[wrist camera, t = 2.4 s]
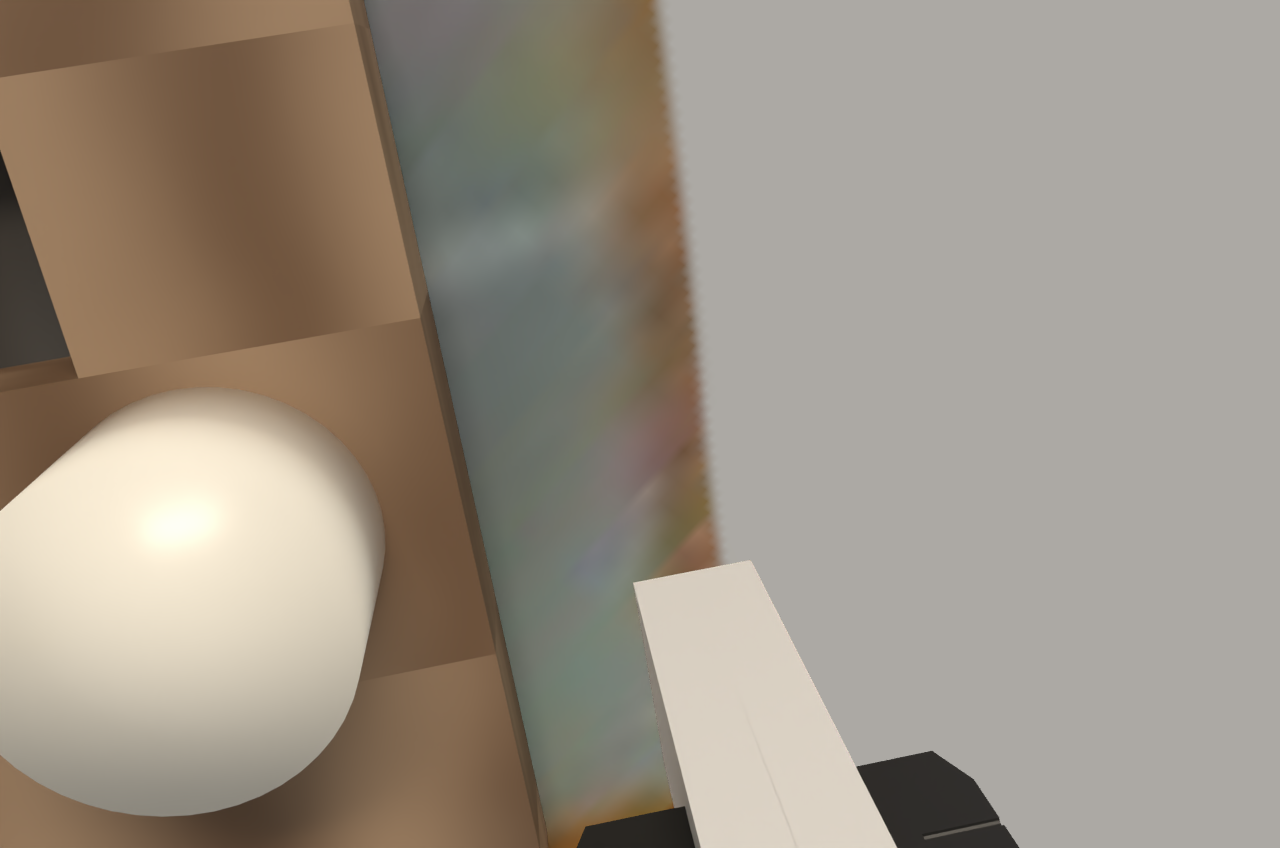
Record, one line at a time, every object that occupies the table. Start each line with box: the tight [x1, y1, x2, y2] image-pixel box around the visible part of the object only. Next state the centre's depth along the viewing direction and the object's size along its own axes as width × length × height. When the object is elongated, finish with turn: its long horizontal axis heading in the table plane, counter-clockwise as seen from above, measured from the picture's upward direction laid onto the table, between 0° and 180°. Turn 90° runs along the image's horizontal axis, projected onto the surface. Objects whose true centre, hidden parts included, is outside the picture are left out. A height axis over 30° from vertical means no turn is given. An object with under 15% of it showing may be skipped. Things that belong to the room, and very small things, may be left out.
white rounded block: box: [0, 387, 385, 817], centre depth 18 cm, size 6×6×4 cm
